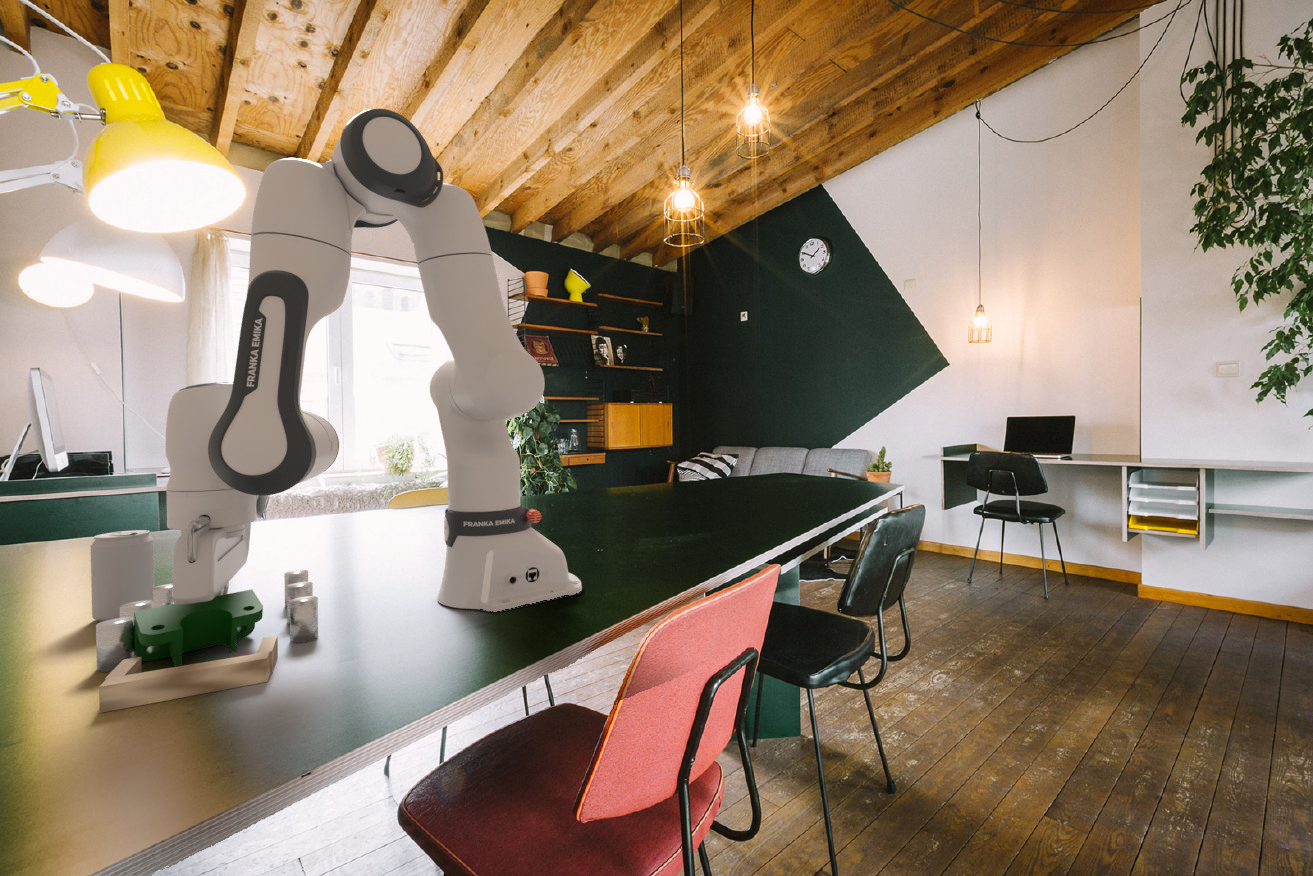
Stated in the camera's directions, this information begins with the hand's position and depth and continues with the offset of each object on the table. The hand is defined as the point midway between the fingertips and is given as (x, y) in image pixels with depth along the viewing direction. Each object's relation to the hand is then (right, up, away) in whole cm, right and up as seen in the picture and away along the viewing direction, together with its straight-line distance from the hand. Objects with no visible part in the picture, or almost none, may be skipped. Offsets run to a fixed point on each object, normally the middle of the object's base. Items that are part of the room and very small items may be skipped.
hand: (215, 618), depth 69 cm
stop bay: (+8, -3, -12) cm, 14 cm away
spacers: (0, -3, +3) cm, 4 cm away
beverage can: (-19, -3, +8) cm, 21 cm away
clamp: (+2, -3, -4) cm, 5 cm away
